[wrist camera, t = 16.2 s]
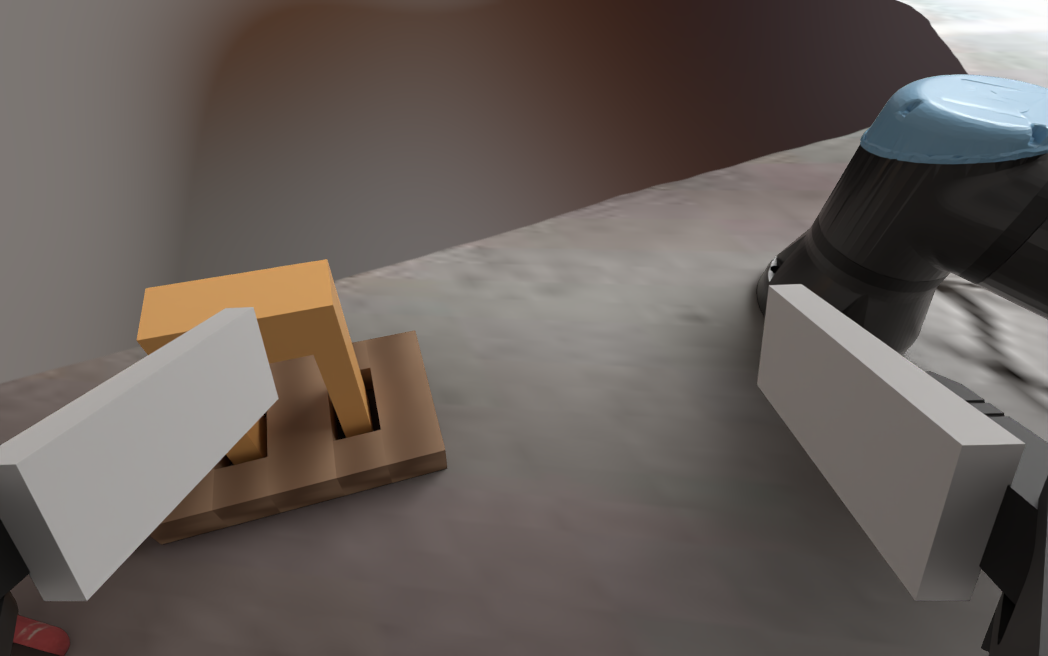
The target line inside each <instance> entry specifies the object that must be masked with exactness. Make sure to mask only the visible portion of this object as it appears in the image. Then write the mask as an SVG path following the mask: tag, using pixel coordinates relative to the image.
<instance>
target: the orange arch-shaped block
mask: <svg viewBox="0 0 1048 656" xmlns="http://www.w3.org/2000/svg"><path fill="white" fill-rule="evenodd" d="M242 307H254V311H255V314H256V318H257V322H258V325H259V329H260V333H261V336H262V340H263V344H264V347H265V351H266V355H267V358H268V362H269V364H270V363H275V362H280V361H285V360H290V359H295V358H300V357H305V356H310V355H314V358H315V360H316V363H317V365H318V368H319V370H320V373H321V375H322V378H323V380H324V383H325V385H326V388H327V391H328V393H329V396H330V398H331V401H332V403H333V406H334V408H335V411H336V413H337V416H338V418H339V421H340V423H341V426H342V429H343V431H344V434H345V436H346V438H348V437H352V436H357V435H361V434H365V433H369V432H373V431H374V429H373V423H372V417H371V411H370V405H369V399H368V396H367V393H366V389H365V386H364V382H363V379H362V376H361V372H360V369H359V366H358V362H357V359H356V355H355V352H354V349H353V345H352V342H351V338H350V335H349V332H348V328H347V325H346V322H345V318H344V315H343V311H342V308H341V305H340V301H339V298H338V295H337V291H336V288H335V284H334V281H333V278H332V275H331V271H330V267H329V264H328V261H327V259H326V260H320V261H314V262H308V263H301V264H295V265H288V266H282V267H276V268H270V269H264V270H258V271H252V272H245V273H239V274H232V275H226V276H220V277H214V278H207V279H202V280H195V281H189V282H182V283H176V284H170V285H164V286H158V287H151V288H146V290H145V296H144V302H143V307H142V313H141V319H140V324H139V330H138V336H137V341H138V343H139V344H140V345H141V347H142V348H143V349H144V351H145V352H146V353H147V354H148V355H150V354H151V353H153V352H155V351H156V350H158V349H159V348H161V347H163V346H164V345H166V344H168V343H169V342H171V341H173V340H174V339H176V338H177V337H179V336H181V335H182V334H184V333H186V332H187V331H189V330H191V329H192V328H194V327H196V326H197V325H199V324H200V323H202V322H204V321H205V320H207V319H209V318H210V317H212V316H214V315H215V314H217V313H218V312H220V311H222V310H223V309H225V308H242ZM226 455H227V457H228V458H229V459H230V460H231V462H232V463H233V464H234V465H236V464H241V463H245V462H249V461H253V460H257V459H261V458H265V457H268V454H267V420H266V418H265V417H264V415H263V416H262V417H261V418H260V419H259V420H258V421H257V422H256V423H255V424H254V425H253V426H252V427H251V428H250V429H249V430H248V431H247V433H246V434H245V435H244V436H243V437H242V438H241V439H240V440H239V441H238V442H237V443H236V444H235V445H234V446H233V447H232V448H231V449H230V450H229V452H228V453H227V454H226Z"/></svg>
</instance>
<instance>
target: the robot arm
mask: <svg viewBox="0 0 1048 656" xmlns="http://www.w3.org/2000/svg"><path fill="white" fill-rule="evenodd" d="M860 140H861V142H860V146H859V147H858V149H857V151H856V152H855V154H854V156H853V157H852V159H851V161H850V163H849V164H848V166H847V168H846V169H845V171H844V173H843V174H842V176H841V178H840V180H839V181H838V183H837V185H836V186H835V188H834V190H833V191H832V193H831V195H830V196H829V198H828V200H827V201H826V203H825V205H824V206H823V208H822V210H821V212H820V213H819V215H818V217H817V218H816V220H815V221H814V223H813V225H812V226H811V228H810V229H808V230H807V231H806V232H805V233H804V234H802V235H801V236H800V237H799V238H798V239H796V240H795V241H794V242H793V243H791V244H790V245H789V246H788V247H787V248H785V249H784V250H783V251H782V252H781V253H779V254H778V255H777V256H776V257H775V258H774V259H773V260H772V261H771V262H770V263H769V265H768V266H767V268H766V270H765V272H764V273H763V275H762V277H761V279H760V281H759V283H758V287H757V298H758V303H759V306H760V308H761V311H762V313H763V314H764V316H765V322H764V331H763V339H762V347H761V356H760V364H759V372H758V381H757V386H758V387H759V388H760V390H761V391H762V392H763V394H764V395H765V396H766V398H767V399H768V401H769V402H770V403H771V405H772V406H773V407H774V409H775V410H776V411H777V413H778V414H779V416H780V417H781V418H782V420H783V421H784V422H785V424H786V425H787V426H788V428H789V429H790V431H791V432H792V433H793V435H794V436H795V437H796V439H797V440H798V441H799V443H800V444H801V446H802V447H803V448H804V450H805V451H806V452H807V454H808V455H809V456H810V458H811V459H812V461H813V462H814V463H815V465H816V466H817V467H818V469H819V470H820V471H821V473H822V474H823V476H824V477H825V478H826V480H827V481H828V482H829V484H830V485H831V487H832V488H833V489H834V491H835V492H836V493H837V495H838V496H839V497H840V499H841V500H842V502H843V503H844V504H845V506H846V507H847V508H848V510H849V511H850V512H851V514H852V515H853V517H854V518H855V519H856V521H857V522H858V523H859V525H860V526H861V527H862V529H863V530H864V532H865V533H866V534H867V536H868V537H869V538H870V540H871V541H872V542H873V544H874V545H875V547H876V548H877V549H878V551H879V552H880V553H881V555H882V556H883V557H884V559H885V560H886V562H887V563H888V564H889V566H890V567H891V568H892V570H893V571H894V572H895V574H896V575H897V577H898V578H899V579H900V581H901V582H902V583H903V585H904V586H905V588H906V589H907V590H908V592H909V593H910V594H911V596H912V597H913V598H914V600H915V601H970V599H971V596H972V593H973V591H974V588H975V585H976V582H977V579H978V577H979V574H980V571H981V569H982V570H983V571H984V572H985V573H986V574H987V575H988V576H989V577H990V578H991V579H992V581H993V582H994V583H995V584H996V585H997V586H998V587H999V588H1000V589H1001V590H1002V591H1003V592H1002V595H1001V597H1000V600H999V602H998V605H997V608H996V610H995V613H994V615H993V618H992V621H991V623H990V626H989V628H988V631H987V634H986V636H985V639H984V641H983V644H982V647H981V648H982V649H984V650H986V651H988V652H989V656H1048V443H1047V442H1046V441H1044V440H1043V439H1041V438H1040V437H1038V436H1037V435H1036V434H1034V433H1033V432H1031V431H1030V430H1028V429H1027V428H1025V427H1024V426H1022V425H1021V424H1019V423H1018V422H1016V421H1015V420H1013V419H1012V418H1010V417H1009V416H1008V417H1005V416H1004V413H1003V412H1002V411H1000V410H999V409H997V408H996V407H994V406H993V405H991V404H990V403H985V402H984V399H982V398H981V397H980V396H978V395H977V394H975V393H974V392H972V391H971V390H969V389H968V388H966V387H965V386H963V385H962V384H960V383H957V382H955V381H952V380H950V379H948V378H945V377H943V376H940V375H938V374H936V373H933V372H931V371H927V372H924V371H923V370H921V369H920V368H919V367H917V366H916V365H914V364H913V363H912V362H910V361H909V360H907V359H906V358H905V357H903V356H902V355H903V353H904V352H905V351H906V350H907V349H908V348H909V347H910V346H911V345H912V344H913V343H914V342H915V340H916V339H917V337H918V335H919V333H920V330H921V327H922V325H923V322H924V319H925V317H926V314H927V311H928V309H929V306H930V303H931V300H932V298H933V295H934V292H935V290H936V288H937V287H938V285H939V284H940V283H941V282H942V281H943V280H944V279H945V278H946V277H947V276H948V275H949V273H950V272H951V273H953V274H955V275H958V276H960V277H962V278H964V279H966V280H968V281H970V282H972V283H974V284H976V285H978V286H980V287H982V288H984V289H986V290H989V291H991V292H993V293H995V294H997V295H999V296H1001V297H1003V298H1005V299H1007V300H1009V301H1011V302H1013V303H1015V304H1017V305H1019V306H1021V307H1023V308H1025V309H1027V310H1029V311H1031V312H1033V313H1036V314H1038V315H1040V316H1042V317H1044V318H1046V319H1048V89H1047V88H1044V87H1041V86H1038V85H1034V84H1030V83H1026V82H1021V81H1017V80H1011V79H1006V78H999V77H991V76H981V75H942V76H934V77H928V78H924V79H921V80H918V81H915V82H912V83H910V84H908V85H906V86H904V87H903V88H901V89H900V90H898V91H897V92H896V93H895V94H894V95H893V96H892V97H891V98H890V99H889V101H888V102H887V104H886V105H885V106H884V108H883V109H882V111H881V112H880V114H879V116H878V117H877V118H876V120H875V121H874V123H873V124H872V126H871V127H870V128H869V129H868V130H866V131H865V133H864V134H863V135H862V137H861V139H860ZM278 399H279V398H278V395H277V391H276V387H275V384H274V380H273V376H272V373H271V369H270V366H269V362H268V358H267V355H266V351H265V347H264V344H263V340H262V336H261V333H260V329H259V325H258V322H257V318H256V314H255V311H254V307H242V308H225V309H223V310H222V311H220V312H218V313H217V314H215V315H214V316H212V317H210V318H209V319H207V320H205V321H204V322H202V323H200V324H199V325H197V326H196V327H194V328H192V329H191V330H189V331H187V332H186V333H184V334H182V335H181V336H179V337H177V338H176V339H174V340H173V341H171V342H169V343H168V344H166V345H164V346H163V347H161V348H159V349H158V350H156V351H155V352H153V353H151V354H150V355H148V356H146V357H145V358H143V359H141V360H140V361H138V362H136V363H135V364H133V365H132V366H130V367H128V368H127V369H125V370H123V371H122V372H120V373H118V374H117V375H115V376H114V377H112V378H110V379H109V380H107V381H105V382H104V383H102V384H100V385H99V386H97V387H96V388H94V389H92V390H91V391H89V392H87V393H86V394H84V395H82V396H81V397H79V398H77V399H76V400H74V401H73V402H71V403H69V404H68V405H66V406H64V407H63V408H61V409H59V410H58V411H56V412H55V413H53V414H51V415H50V416H48V417H46V418H45V419H43V420H41V421H40V422H38V423H36V424H35V425H33V426H32V427H30V428H28V429H27V430H25V431H23V432H22V433H20V434H18V435H17V436H15V437H14V438H12V439H10V440H9V441H7V442H5V443H4V444H2V445H0V656H11V651H12V645H13V639H14V633H15V627H16V621H17V615H18V607H17V603H16V601H15V599H14V597H13V596H12V594H11V592H10V590H11V589H12V588H13V587H14V586H16V585H17V584H18V583H19V582H20V581H21V580H22V579H23V578H25V577H26V576H27V575H28V574H29V575H30V577H31V579H32V580H33V582H34V584H35V586H36V588H37V589H38V591H39V593H40V595H41V596H42V598H43V600H44V601H87V600H88V599H89V598H90V597H91V596H92V595H93V594H94V593H95V592H96V591H97V590H98V589H99V588H100V587H101V586H102V585H103V584H104V582H105V581H106V580H107V579H108V578H109V577H110V576H111V575H112V574H113V573H114V572H115V571H116V570H117V569H118V568H119V567H120V566H121V564H122V563H123V562H124V561H125V560H126V559H127V558H128V557H129V556H130V555H131V554H132V553H133V552H134V551H135V550H136V549H137V548H138V547H139V545H140V544H141V543H142V542H143V541H144V540H145V539H146V538H147V537H148V536H149V535H150V534H151V533H152V532H153V531H154V530H155V529H156V528H157V526H158V525H159V524H160V523H161V522H162V521H163V520H164V519H165V518H166V517H167V516H168V515H169V514H170V513H171V512H172V511H173V510H174V509H175V507H176V506H177V505H178V504H179V503H180V502H181V501H182V500H183V499H184V498H185V497H186V496H187V495H188V494H189V493H190V492H191V491H192V490H193V488H194V487H195V486H196V485H197V484H198V483H199V482H200V481H201V480H202V479H203V478H204V477H205V476H206V475H207V474H208V473H209V472H210V471H211V469H212V468H213V467H214V466H215V465H216V464H217V463H218V462H219V461H220V460H221V459H222V458H223V457H224V456H225V455H226V454H227V453H228V452H229V450H230V449H231V448H232V447H233V446H234V445H235V444H236V443H237V442H238V441H239V440H240V439H241V438H242V437H243V436H244V435H245V434H246V433H247V431H248V430H249V429H250V428H251V427H252V426H253V425H254V424H255V423H256V422H257V421H258V420H259V419H260V418H261V417H262V416H263V415H264V414H265V412H266V411H267V410H268V409H269V408H270V407H271V406H272V405H273V404H274V403H275V402H276V401H277V400H278Z"/></svg>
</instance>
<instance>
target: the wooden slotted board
mask: <svg viewBox="0 0 1048 656" xmlns="http://www.w3.org/2000/svg"><path fill="white" fill-rule="evenodd" d="M352 345H353V349H354V352H355V355H356V359H357V362H358V366H359V369H360V372H361V376H362V379H363V382H364V386H365V389H366V390H370V389H374V392H375V398H376V404H377V410H378V415H379V421H380V427H381V430H377V431H373V432H369V433H365V434H361V435H357V436H352V437H348V438H344V439H340V440H339V439H338V430H337V421H336V412H335V408H334V406H333V403H332V401H331V398H330V396H329V393H328V391H327V388H326V385H325V383H324V380H323V378H322V375H321V373H320V370H319V368H318V365H317V363H316V360H315V358H314V355H310V356H305V357H300V358H295V359H290V360H285V361H280V362H275V363H270V364H269V366H270V369H271V373H272V376H273V380H274V384H275V387H276V391H277V395H278V398H279V399H278V400H277V401H276V402H275V403H274V404H273V405H272V406H271V407H270V408H269V409H268V410H267V411H266V412H267V454H268V457H265V458H261V459H257V460H253V461H249V462H245V463H241V464H236V465H232V466H230V459H229V458H228V457H227V455H225V456H224V457H223V458H222V459H221V460H220V461H219V462H218V463H217V464H216V465H215V466H214V467H213V468H212V469H211V471H210V472H209V473H208V474H207V475H206V476H205V477H204V478H203V479H202V480H201V481H200V482H199V483H198V484H197V485H196V486H195V487H194V488H193V490H192V491H191V492H190V493H189V494H188V495H187V496H186V497H185V498H184V499H183V500H182V501H181V502H180V503H179V504H178V505H177V506H176V507H175V509H174V510H173V511H172V512H171V513H170V514H169V515H168V516H167V517H166V518H165V519H164V520H163V521H162V522H161V523H160V524H159V525H158V526H157V528H156V529H155V530H154V531H153V532H152V533H151V534H150V535H149V536H151V537H152V538H153V539H155V540H156V541H157V542H159V543H160V544H161V545H162V544H166V543H169V542H173V541H177V540H180V539H184V538H188V537H192V536H195V535H199V534H203V533H207V532H210V531H214V530H218V529H222V528H225V527H229V526H233V525H237V524H240V523H244V522H248V521H252V520H255V519H259V518H263V517H267V516H270V515H274V514H278V513H282V512H285V511H289V510H293V509H296V508H300V507H304V506H308V505H311V504H315V503H319V502H323V501H326V500H330V499H334V498H338V497H341V496H345V495H349V494H353V493H356V492H360V491H364V490H368V489H371V488H375V487H379V486H383V485H386V484H390V483H394V482H398V481H401V480H405V479H409V478H413V477H416V476H420V475H424V474H427V473H431V472H435V471H439V470H442V469H446V468H447V462H446V452H445V447H444V443H443V439H442V435H441V431H440V427H439V423H438V419H437V415H436V411H435V407H434V403H433V399H432V395H431V391H430V387H429V383H428V379H427V376H426V372H425V368H424V364H423V360H422V356H421V352H420V348H419V344H418V340H417V336H416V332H415V331H410V332H405V333H400V334H395V335H390V336H385V337H380V338H375V339H370V340H365V341H360V342H355V343H352ZM266 412H265V413H266Z"/></svg>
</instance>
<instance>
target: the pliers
mask: <svg viewBox="0 0 1048 656" xmlns="http://www.w3.org/2000/svg"><path fill="white" fill-rule="evenodd" d="M13 643H18V644H21V645H25V646H28V647H32V648H35V649H39V650H42V651H46V652H49V653H53V654H56V655H60V656H64V655H65V654H66V652H67V650H68V648H69V646H70V639H69V637H68V635H67V633H66V632H65V631H64V630H62V629H61V628H58V627H55V626H52V625H49V624H45V623H42V622H39V621H36V620H33V619H29V618H26V617H23V616H20V615H17V621H16V627H15V633H14V639H13Z"/></svg>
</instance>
